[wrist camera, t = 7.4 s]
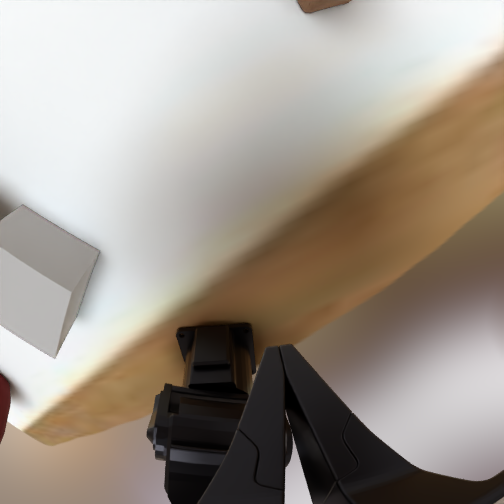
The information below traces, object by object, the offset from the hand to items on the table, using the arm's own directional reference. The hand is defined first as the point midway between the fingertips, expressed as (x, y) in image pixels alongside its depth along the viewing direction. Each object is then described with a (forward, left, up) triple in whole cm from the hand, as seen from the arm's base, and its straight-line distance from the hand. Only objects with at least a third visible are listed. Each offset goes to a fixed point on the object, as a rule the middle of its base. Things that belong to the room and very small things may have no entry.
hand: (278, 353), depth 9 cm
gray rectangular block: (+2, +23, -13) cm, 26 cm away
